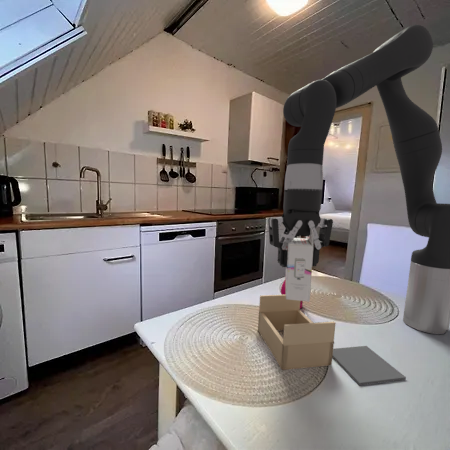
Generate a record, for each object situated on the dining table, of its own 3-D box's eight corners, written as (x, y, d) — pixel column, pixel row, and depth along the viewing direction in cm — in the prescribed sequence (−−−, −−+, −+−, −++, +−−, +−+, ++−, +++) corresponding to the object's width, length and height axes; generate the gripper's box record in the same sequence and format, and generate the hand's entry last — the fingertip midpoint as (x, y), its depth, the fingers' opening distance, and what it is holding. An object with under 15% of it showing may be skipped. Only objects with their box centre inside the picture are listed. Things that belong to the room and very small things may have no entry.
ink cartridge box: (283, 285, 60) (287, 224, 58) (305, 287, 59) (309, 225, 57) (284, 299, 51) (289, 228, 49) (310, 302, 50) (315, 230, 49)
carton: (297, 327, 65) (299, 293, 64) (331, 365, 50) (335, 322, 49) (257, 330, 62) (260, 295, 61) (282, 370, 48) (285, 326, 47)
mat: (366, 347, 57) (366, 345, 57) (405, 379, 47) (406, 377, 47) (326, 351, 55) (326, 349, 55) (359, 385, 45) (359, 382, 45)
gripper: (323, 189, 57) (318, 260, 59) (264, 186, 54) (260, 262, 56) (345, 188, 50) (338, 270, 52) (277, 185, 47) (273, 272, 49)
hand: (297, 265), depth 54 cm, fingers closed on ink cartridge box, 6 cm apart
